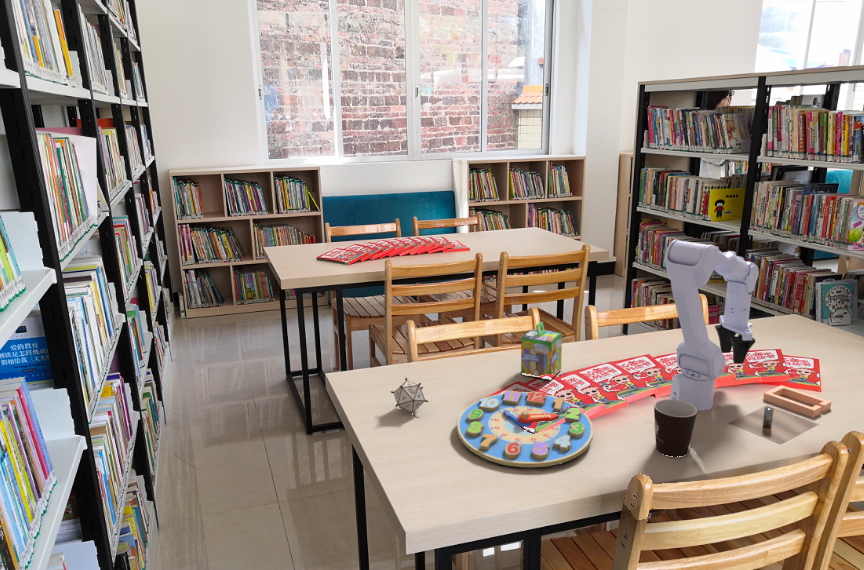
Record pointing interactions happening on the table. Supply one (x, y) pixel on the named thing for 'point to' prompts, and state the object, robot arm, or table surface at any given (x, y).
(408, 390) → the game die
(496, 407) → the shape sorting clock
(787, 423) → the stand base
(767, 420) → the hook post
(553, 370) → the chalk box
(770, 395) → the c link
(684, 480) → the table surface
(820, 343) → the table surface
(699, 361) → the robot arm
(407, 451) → the table surface
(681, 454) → the coffee mug
